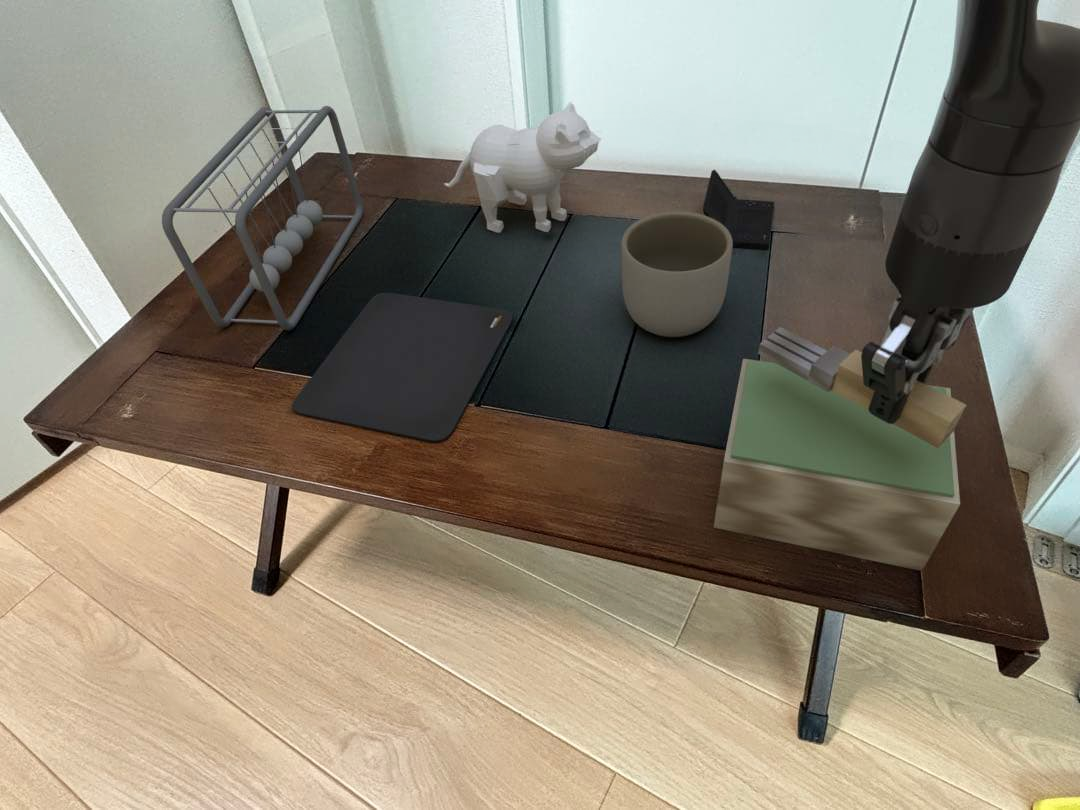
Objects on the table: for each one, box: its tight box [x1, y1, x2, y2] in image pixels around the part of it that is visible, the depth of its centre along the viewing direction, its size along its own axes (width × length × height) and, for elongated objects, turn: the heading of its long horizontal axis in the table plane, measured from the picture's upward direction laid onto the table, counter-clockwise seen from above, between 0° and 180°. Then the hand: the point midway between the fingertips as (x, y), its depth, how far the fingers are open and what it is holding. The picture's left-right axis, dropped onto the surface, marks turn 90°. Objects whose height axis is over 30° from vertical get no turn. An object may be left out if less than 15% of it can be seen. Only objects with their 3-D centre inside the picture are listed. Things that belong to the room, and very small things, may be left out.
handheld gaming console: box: [702, 169, 775, 250], centre depth 99 cm, size 12×7×10 cm
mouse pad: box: [291, 292, 514, 443], centre depth 87 cm, size 23×20×1 cm
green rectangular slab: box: [731, 359, 955, 498], centre depth 62 cm, size 17×12×1 cm
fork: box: [757, 326, 967, 448], centre depth 58 cm, size 16×3×3 cm, turn 42°
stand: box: [713, 358, 961, 572], centre depth 66 cm, size 18×13×10 cm
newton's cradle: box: [161, 105, 364, 332], centre depth 97 cm, size 30×10×18 cm, turn 170°
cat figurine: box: [443, 101, 602, 234], centre depth 101 cm, size 25×10×17 cm, turn 71°
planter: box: [620, 210, 734, 338], centre depth 85 cm, size 12×12×11 cm
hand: (893, 405), depth 57 cm, fingers closed on fork, 2 cm apart
